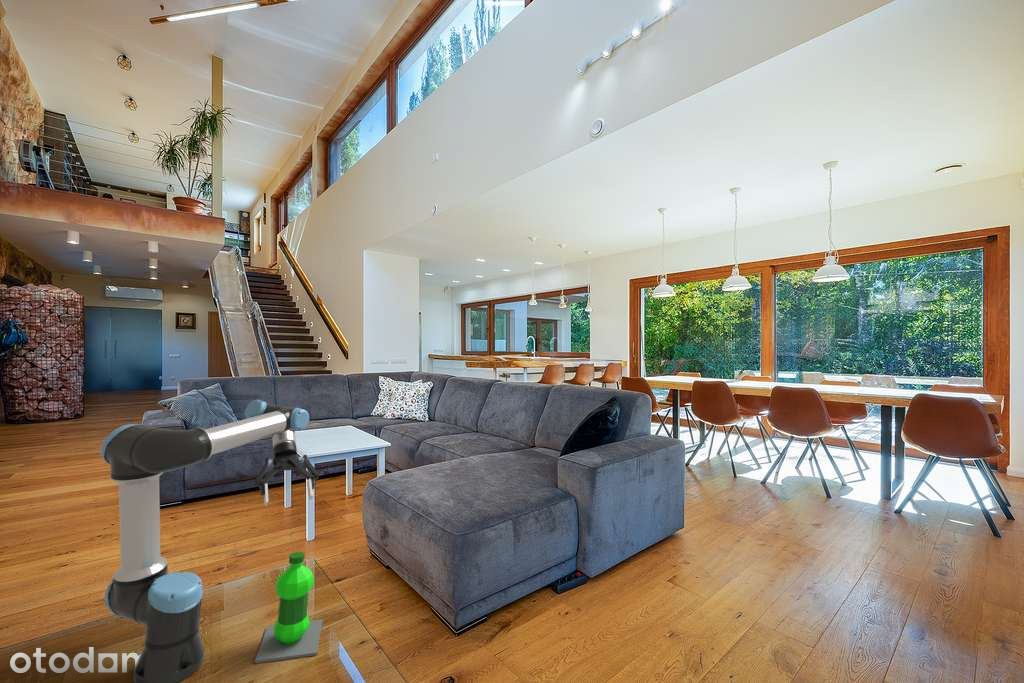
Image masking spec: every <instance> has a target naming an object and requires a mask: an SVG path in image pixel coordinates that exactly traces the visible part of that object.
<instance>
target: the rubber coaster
mask: <svg viewBox="0 0 1024 683" xmlns="http://www.w3.org/2000/svg"><path fill="white" fill-rule="evenodd" d="M323 621H324V620H323V618H322V619H313V620H309V622H310V624H309V628H308V630H307V631H306V632H305V634H304V635H303V636H302V637H301V638H300V639H299V640H298V641H297V642H294V643H292V644H284V643H282V642H281V641H279V640H277V639H276V638H275V635H274V624H271V625H267V627H266V629H265V631H264V635H263V638H262V640H261V643H260V645H259V649H258V651H257V653H256V656H255V658H254V659H255V660H254V664H262V663H269V662H276V661H283V660H284V661H285V660H291V659H292V660H293V659H298V658H305V657H306V658H307V657H312V656H313V657H314V656H318V650H319V645H320V639H321V632H322V627H323V623H324V622H323ZM322 622H323V623H322Z"/></svg>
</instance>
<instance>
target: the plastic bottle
mask: <svg viewBox="0 0 1024 683" xmlns="http://www.w3.org/2000/svg"><path fill="white" fill-rule="evenodd" d="M305 556H306V554H305V552H303V551H295V552H292V553H290V554H289V556H288V564H290V566H289V567H287V568H286V569H285V570H284V571H283V572H282V573H280V575H278V576H277V578H276V580H275V589H276V596H278V598H279V601H278V613H277V618H276V620H275V622H274V624H273V625H274V635H275V638H276V639H277V640H279V641H281V642H282V643H284V644H292V643H294V642H297V641H298V640H299V639H300V638H301V637H302V636H303V635H304V634H305V632H306V631H307V630H308V628H309V624H310V622H309V621H310V619H309V616H308V602H309V592H310V591H311V590H312V589H313V588H314V584H315V579H314V574H313V572H312V569H310V568H309V567H307V566H305V565H303V562H305Z"/></svg>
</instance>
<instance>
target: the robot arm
mask: <svg viewBox="0 0 1024 683" xmlns="http://www.w3.org/2000/svg"><path fill="white" fill-rule="evenodd" d="M244 416H245V419H242V420H236V421H232V422H228V423H225V424H221V425H217V426H213V427H210V428H206V429H204V428H202V427H194V428H191V429H168V428H162V427H156V426H151V425H148V424H144V423H143V424H142V423H140V424H137V423H130V424H129V423H128V424H124V425H122V426H119V427H117V428H116V429H114V430H113V431H111V432H110V433H109V434H108V435H107V436H106V437H105V438H104V439H103V442H102V444H101V447H100V455H101V458H102V459H103V461H105V463H107V464H108V465H110V479H111V480H112V481H113V482H116V483H117V484H118V502H119V505H118V506H119V507H118V509H119V542H120V544H119V546H120V548H119V550H120V567H119V568H118V569H116V571H115V572H114V573H113V578H112V579H111V580H110V582H111V583H110V584H108V585H107V587H106V590H105V593H104V603H105V606H106V607H107V609H108V610H109V611H110V612H112V613H113V614H114V615H115V616H118V617H122V618H125V619H127V620H130V621H132V622H134V623H137V624H140V625H142V626H144V627H145V636H144V638H145V639H144V646H143V649H142V651H141V653H140V656H139V657H138V660H137V662H136V664H135V666H134V670H133V677H132V679H133V680H132V681H133V683H180V682H182V681H184V680H185V679H187V678H189V677H190V676H191V675H194V673H196V672H197V671H198V670H199V668H200V667H201V666H202V665H203V662H204V661H205V659H204V658H205V647H204V644H203V640H202V638H201V635H200V630H199V629H200V620H201V619H200V618H201V609H202V608H201V607H202V599H203V591H204V590H203V581H202V579H201V577H200V576H198V574H196V573H193V572H190V571H183V572H180V571H176V572H170V573H168V559H167V558H165V557H163V556H161V555H162V553H161V516H160V515H161V512H160V511H161V508H160V507H161V506H160V505H161V504H160V503H161V502H160V476H161V475H163V474H164V473H167V472H172V471H176V470H179V469H184V468H186V467H190V466H194V465H196V464H199V463H202V462H205V461H208V460H209V459H210V458H211V456H213V455H216V454H218V453H221V452H225V451H229V450H232V449H235V448H238V447H241V446H243V445H247V444H250V443H253V442H256V441H258V440H262V439H266V438H269V437H271V438H272V448H273V449H272V453H273V459H270V458H268V457H264V460H263V466H262V467H261V469H260V471H259V473H258V475H257V477H256V478H255V480H254V481H253V487H259V491H260V497H262V496H263V499H264V502H263V503H264V504H263V505H264V507H266V506H268V504H269V488H268V483H269V482H270V480H271V479H272V478H273V477H274V476H275V475H276V473H278V472H279V471H281V472H285V471H292V470H293V471H294V472H297V473H298V474H300V475H301V476H302V477H304V478H305V479H306V480H307V482H306V486H307V494H308V500H312V499H313V497H314V492H313V490H314V489H315V487H316V484H315V480H316V481H317V480H318V479H319V476H320V473H319V471H318V470H317V469H316V468H315V466H314V465H313V464H312V463H311V462H310V460H309V458H308V455H307V454H304V455H302V456H298V451H297V445H296V444H297V441H296V432H295V431H298V432H300V431H303V430H305V428H307V426H308V424H309V422H310V415H309V412H308V411H307V410H306V409H302V408H299V407H291V406H284V405H283V406H282V405H276V404H269V403H268V402H266V401H263V400H261V399H254V400H252V401H251V402H249V403H248V405H247V406H246V408H245V410H244ZM300 463H301V464H303V466H304V467H305V468H304V467H303V466H302V465H301V464H300ZM271 464H272V465H273V466H274V467H272V469H271V470H270V471H269V472H268V473H267V474H266V476H265V477H264V478H263V476H264V474H265V473H266V470H267V469H268V467H270V466H271ZM262 478H263V479H262Z"/></svg>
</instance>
